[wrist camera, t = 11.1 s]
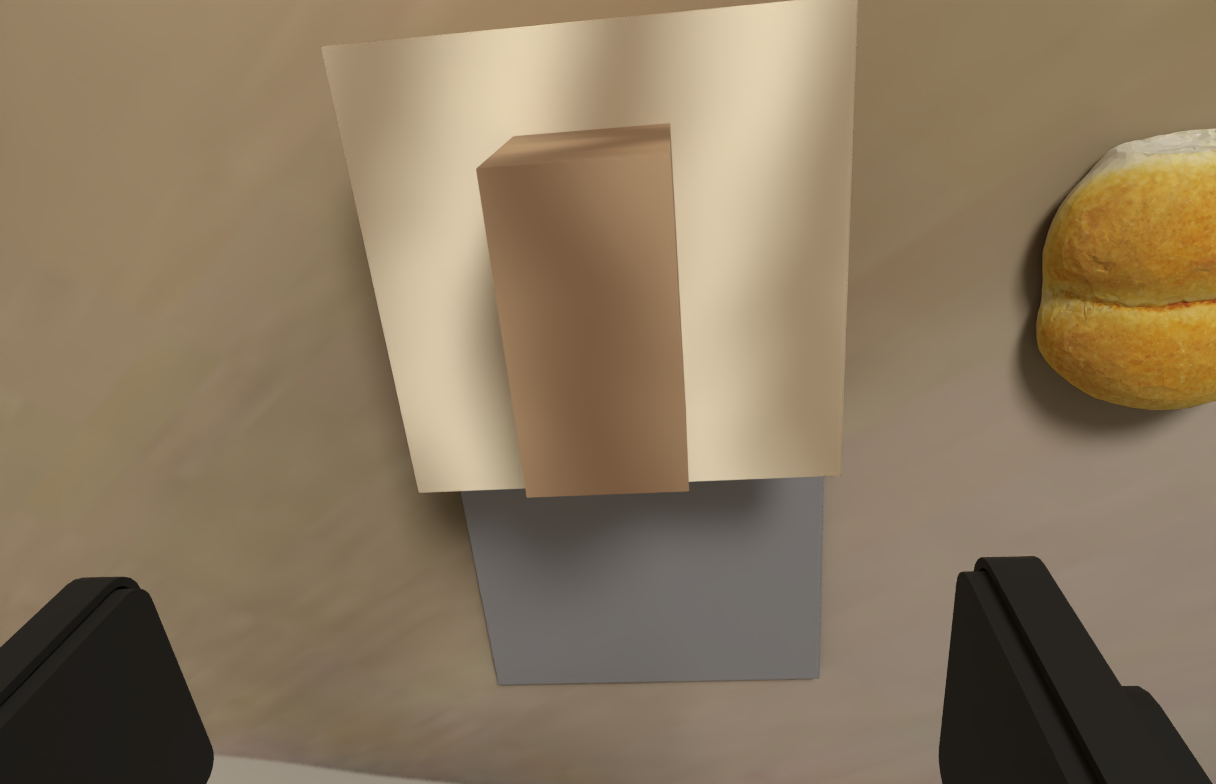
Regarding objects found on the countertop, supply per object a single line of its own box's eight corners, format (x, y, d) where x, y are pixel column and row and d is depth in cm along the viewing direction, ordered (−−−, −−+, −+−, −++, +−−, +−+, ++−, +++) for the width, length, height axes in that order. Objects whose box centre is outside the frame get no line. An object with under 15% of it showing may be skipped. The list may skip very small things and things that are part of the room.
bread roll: (1021, 399, 30) (1069, 454, 26) (1036, 148, 26) (1094, 172, 23) (1268, 372, 29) (1354, 426, 25) (1320, 107, 25) (1429, 125, 22)
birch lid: (849, -6, 20) (908, -7, 15) (834, 458, 26) (874, 568, 21) (335, 45, 21) (234, 58, 16) (427, 476, 27) (372, 584, 22)
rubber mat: (823, 375, 30) (825, 381, 29) (817, 669, 36) (819, 678, 35) (446, 397, 31) (442, 402, 31) (500, 676, 37) (498, 684, 37)
